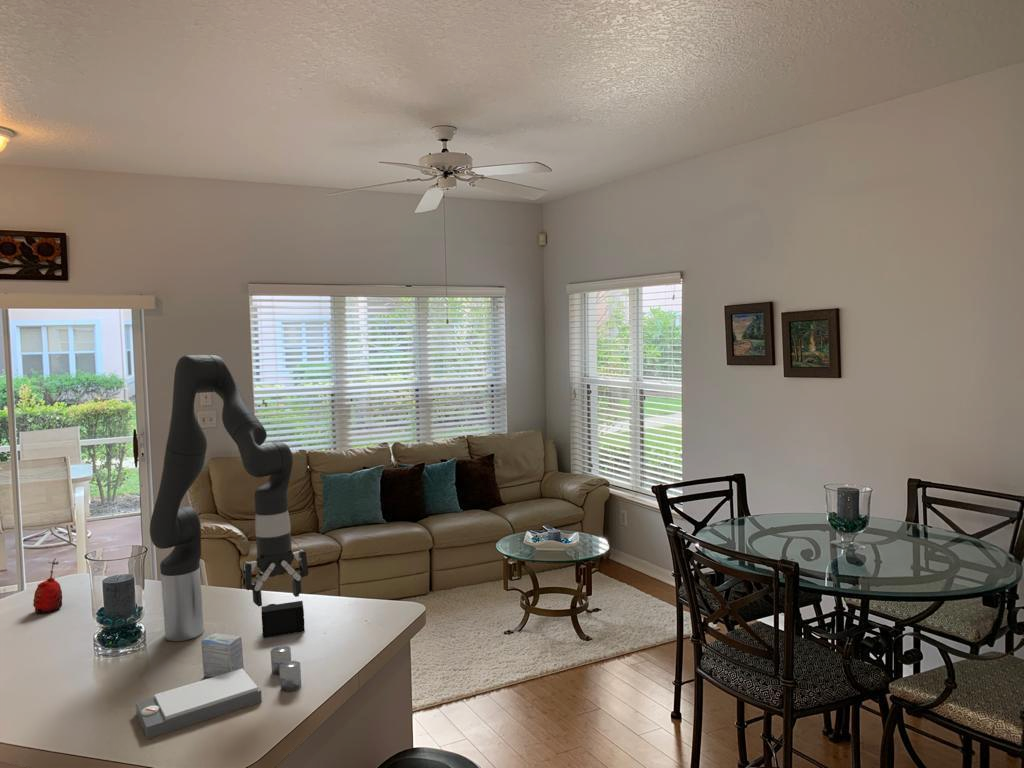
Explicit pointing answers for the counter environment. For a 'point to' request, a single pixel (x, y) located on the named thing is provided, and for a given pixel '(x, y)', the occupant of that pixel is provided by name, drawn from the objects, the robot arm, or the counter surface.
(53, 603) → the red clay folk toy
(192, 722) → the scale
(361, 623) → the counter surface
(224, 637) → the medicine box
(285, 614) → the digital camera
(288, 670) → the cylinder
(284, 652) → the cylinder
